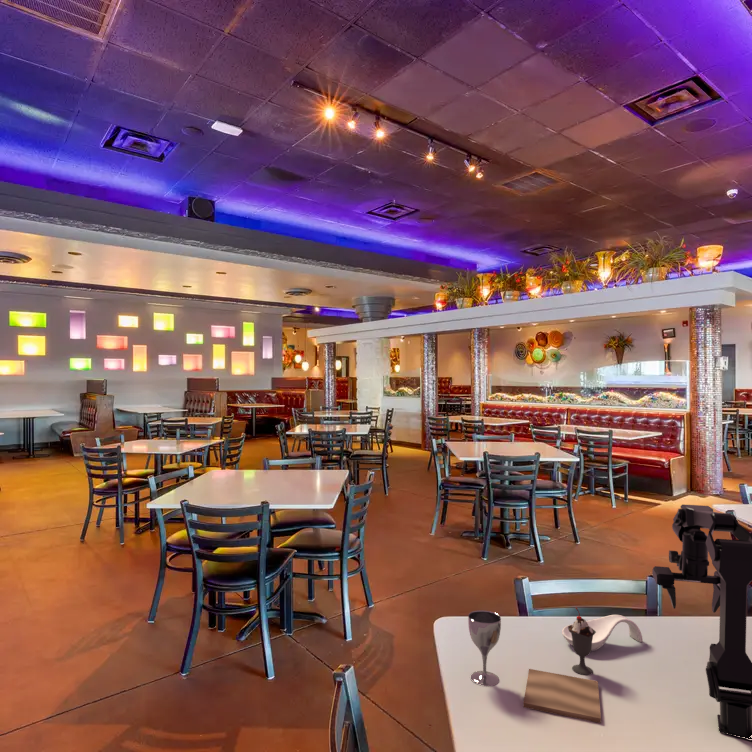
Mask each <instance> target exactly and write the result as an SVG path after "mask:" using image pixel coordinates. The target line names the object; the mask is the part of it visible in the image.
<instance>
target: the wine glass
mask: <svg viewBox="0 0 752 752" xmlns="http://www.w3.org/2000/svg"><path fill="white" fill-rule="evenodd" d="M467 616H468V617H467V619H468V620H467V622H468V630H469V631H468V632H469V636H470V639H471V641H472V643H473V644H474V645H475V646H476V647H477V650H479V652H480V654H481V659H482V670H477V672H476V671H474V672H472V673H473V674H472V673H471V674H472V675H471V674H470V675H471V679H472V680H473V681H474V682H476V683H478V684H481V685H484V686H483V687H493V686H497V685H498V684H499V683H500V678H499V676H498V675H497V674H495V673H493V672H491V671H487V663H488V662H487V661H488V655H489V653H490V652H491V650H492V649H493V648H494V647H495V646H496V645H497V644H498V642H499V639H500V636H501V629H502V618H501V616H500V615H499V614H498V613H496V612H493V611H490V610H482V609H481V610H479V609H478V610H472V611H470V612H469V613H468V615H467ZM471 679H470V680H471ZM472 680H471V681H472ZM473 681H472V682H473ZM474 682H473V683H474ZM476 683H475V684H476ZM478 684H477V685H478ZM481 685H480V686H481Z"/></svg>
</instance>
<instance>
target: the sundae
mask: <svg viewBox="0 0 752 752" xmlns="http://www.w3.org/2000/svg"><path fill="white" fill-rule="evenodd" d="M575 609H576V611H577V612H578V615H577V616H576V619H575V621H574V622H573V623H572V624H573V625H570V624H569V625H570V626H568V625H567V626H568V630H569V632H570V633H571V635H572V641H573V651H574V652H575V654H577V655H578V656H579V663H578V664H575V665H573V666H572V668H571V669H572V671H574V673H576V674H578V675H581V676H582V675H583V676H590V675H592V674H593V673H594V670H593V669H592V668H591V667H589V666H587V665H586V660H585V659H586V657H587V656H589V655H590V654H591V652H592V651H591V647H592V639H593V635H594V634H595V633H596V631H594V630H593V629H592V628H591V627H589V626H588V623H587V622H586V621H587V620H586V619H584V618H582V616H581V614H580V611H579V609H578V607H575Z"/></svg>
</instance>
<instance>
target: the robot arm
mask: <svg viewBox="0 0 752 752" xmlns="http://www.w3.org/2000/svg"><path fill="white" fill-rule="evenodd" d="M672 520H673V521H672V522H673V523H672V525H671V528H672V531H673V533H674V534H675V535H676V537H677V538H678V540H679V541H680V542H681V544H682V548H681V549H682V550H681V552H680V554H679V552H678V551H677V550H670V549H669V550H668V561H669V563H671V564H676V567H678V570H679V571H680V572H672V570H671V568H670V567H669V566H659V565H658V566H655V565H654V567H653V568H652V574H651V575H652V578H653V579H654V581H655V583H656V585H657V586H660V587H661V588H663V589H665V590H666V591H667V594H668V597H669V599H670V603H671V606H672V609H676V606H677V597H676V596H677V595H676V594H677V593H676V587H675V581H677V582H687V583H689V582H690V583H700V584H712V587H713V588H712V589H713V590H712V591H713V592H712V600H711V612H712V613H714V614H715V613H716V612H717V610H718V609H719V632H718V633H719V640H718V642H717V643H711V644H710V646H709V658H708V661H707V663H706V667H705V673H706V679H707V685H708V693H709V697H711V698H713V699H715V701H716V702H717V703H719V714H717V715H716V716H717V726H718V727H719V728H718V727H717V728H718V732H719V731H720V732H719V733H721V732H724V733H728V734H732V735H736V736H740V737H745V738H748V739H752V738H751V737H750V736H751V735H752V660H751V659H750V657H749V656H748V654H747V651H746V650H747V646H746V645H747V613H748V612H747V610H748V607H747V606H748V586H749V585H750V584H751V582H752V533H750V531H748V530H747V529H746V528H744V527H743V525H741V524H739V522H738V518H737V516H736V515H735V514H732V513H728V512H716V511H714V509H713V508H712V507H710V506H709V505H699V504H698V505H697V504H681V505H680V508H678V509H677V512H676V513H675V515H674V517H673V518H672ZM701 529H706V530H709V531H708V532H707V534H706V532H705V531H703V530H701ZM714 532H725V533H731V534H732V535H733V537H734V538H736V539H726V538H716V539H715V538H714V536H713V535H714ZM709 557H710V559H711V564H712V565H713V567H714V569H715V571H714V572H713V575H710V574H709V575H708V569H709V567H708V566H710V561H709ZM723 688H726V689H723ZM731 689H734V690H731ZM738 690H741V691H738ZM746 691H748V692H746ZM724 733H723V734H724ZM728 734H727V735H728ZM749 737H750V738H749Z"/></svg>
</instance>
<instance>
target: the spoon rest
mask: <svg viewBox="0 0 752 752" xmlns="http://www.w3.org/2000/svg"><path fill="white" fill-rule="evenodd" d="M586 622H587V623H588V626H589V627H591V628H592V629H593V630H594V631H596V633H595V634H594V635H593V639H592V647H591V652H594V651H597V650H599V649H600V648H602V647H603V646H604V645H605V643H606V642H607V640H608V639H609V637H610V636H611V633H612V632H613V630H614V629H615V628H616V626H618V625H619V624H620V623H626V625H628V632H629V637H630V638H632V639H634V640H636V641H637V642H640V643H642V642H643V639H644V638H643V635H642V632H641V630H640V628H639V626H638V625H637V623H635V622H634V621H633V620H630V619H628V618H627V617H625V616H624V615H620V614H611V615H606V616H602V617H598V618H594V619H589V620H586ZM570 625H573V623H571V624H569V625H566V626H564V627H563V628H562V630H561V633H562V636H563V638H564V639H565V640H566V641H567V642H568V643H569V644H570V645H571V646H573V641H572V635H571V633H570V632H569V630H568V626H570Z"/></svg>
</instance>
